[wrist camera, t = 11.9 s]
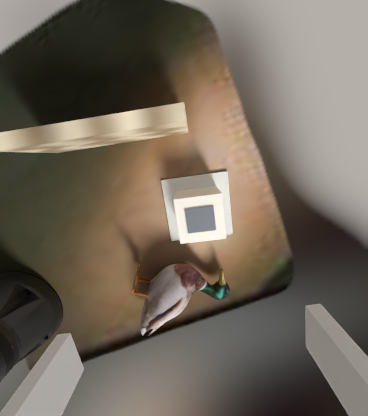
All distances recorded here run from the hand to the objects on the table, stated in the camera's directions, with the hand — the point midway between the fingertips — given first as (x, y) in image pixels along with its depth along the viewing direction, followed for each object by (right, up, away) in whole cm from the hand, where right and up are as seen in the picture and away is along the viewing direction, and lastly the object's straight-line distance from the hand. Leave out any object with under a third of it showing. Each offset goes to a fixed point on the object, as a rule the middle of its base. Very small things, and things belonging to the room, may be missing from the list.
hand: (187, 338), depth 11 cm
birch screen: (-10, +18, +18) cm, 27 cm away
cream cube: (+2, +7, +20) cm, 21 cm away
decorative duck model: (-1, -7, +24) cm, 25 cm away
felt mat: (+2, +7, +20) cm, 21 cm away
